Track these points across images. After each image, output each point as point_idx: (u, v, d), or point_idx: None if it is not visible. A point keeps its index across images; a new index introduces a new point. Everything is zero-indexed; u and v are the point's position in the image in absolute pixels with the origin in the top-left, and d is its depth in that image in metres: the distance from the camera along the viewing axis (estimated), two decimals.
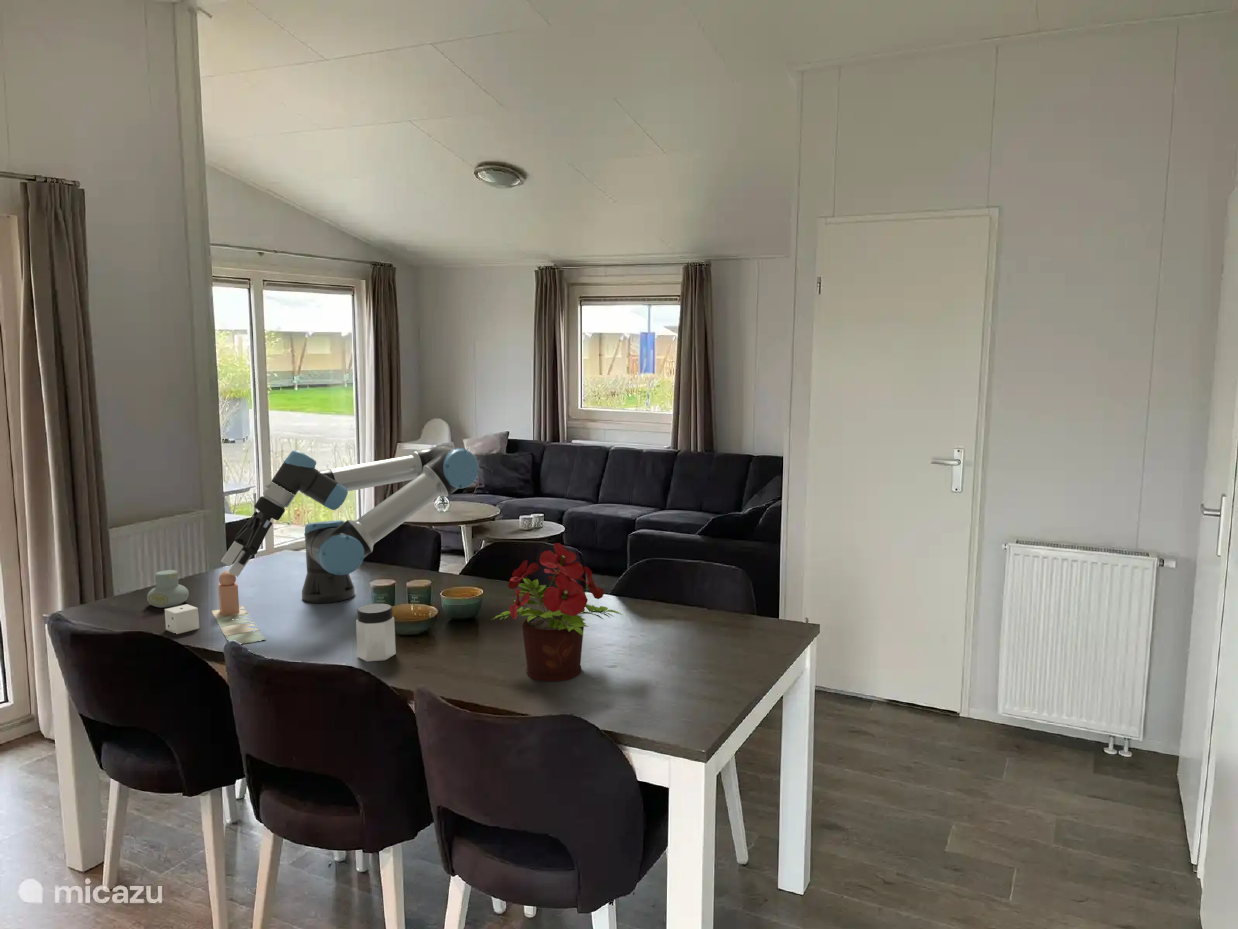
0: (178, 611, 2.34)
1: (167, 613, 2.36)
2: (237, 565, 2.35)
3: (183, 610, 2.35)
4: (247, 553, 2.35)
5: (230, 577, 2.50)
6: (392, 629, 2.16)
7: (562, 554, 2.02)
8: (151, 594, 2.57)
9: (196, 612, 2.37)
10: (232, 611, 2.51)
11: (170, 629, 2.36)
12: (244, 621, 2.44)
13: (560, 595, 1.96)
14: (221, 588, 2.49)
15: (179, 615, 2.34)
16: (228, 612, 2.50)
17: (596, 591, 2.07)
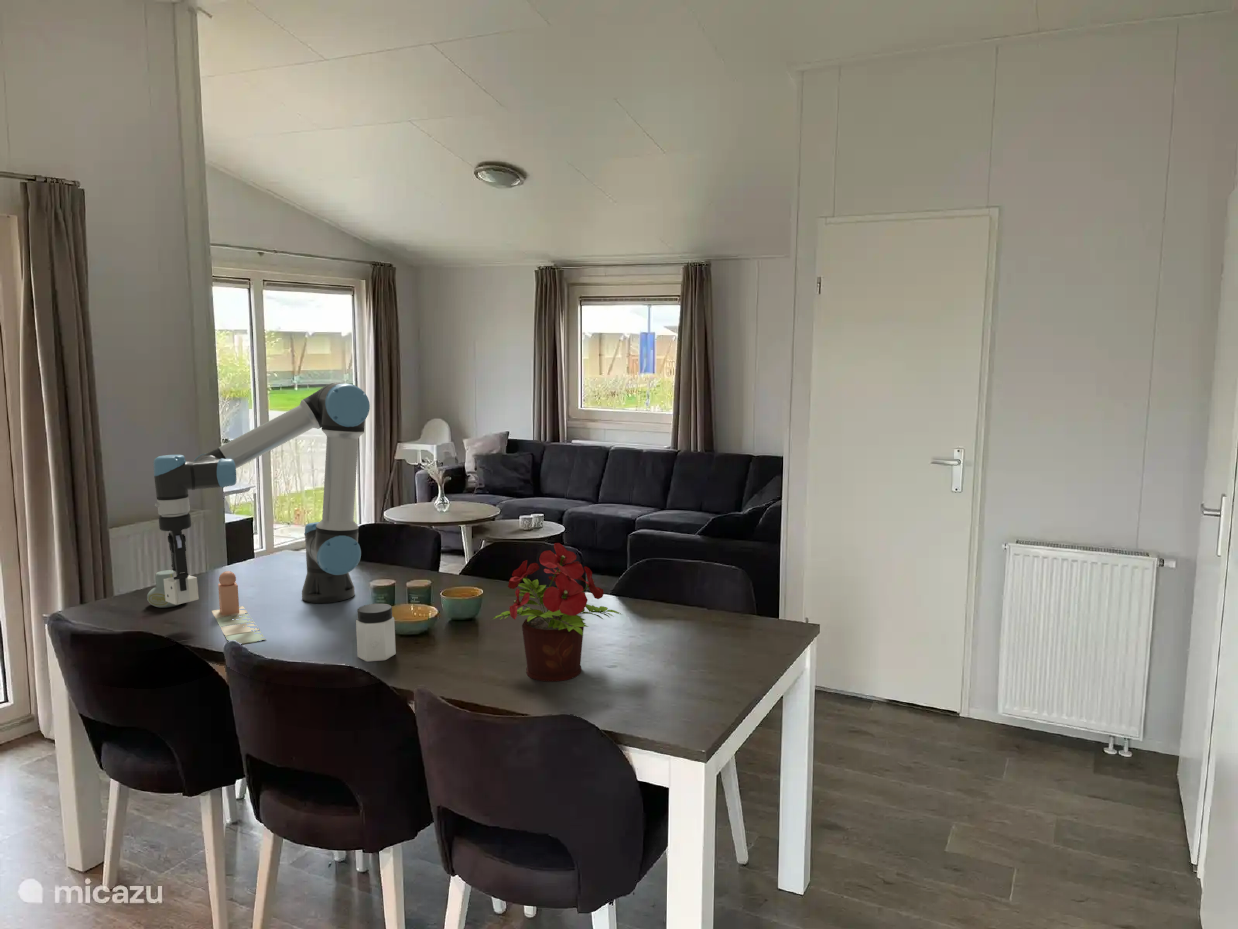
0: None
1: (166, 583, 2.35)
2: (181, 593, 2.32)
3: None
4: (181, 579, 2.31)
5: (230, 577, 2.50)
6: (392, 629, 2.16)
7: (562, 554, 2.02)
8: (151, 594, 2.57)
9: (195, 581, 2.36)
10: (232, 611, 2.51)
11: (169, 599, 2.35)
12: (244, 621, 2.44)
13: (560, 595, 1.96)
14: (221, 588, 2.49)
15: None
16: (228, 612, 2.50)
17: (596, 591, 2.07)
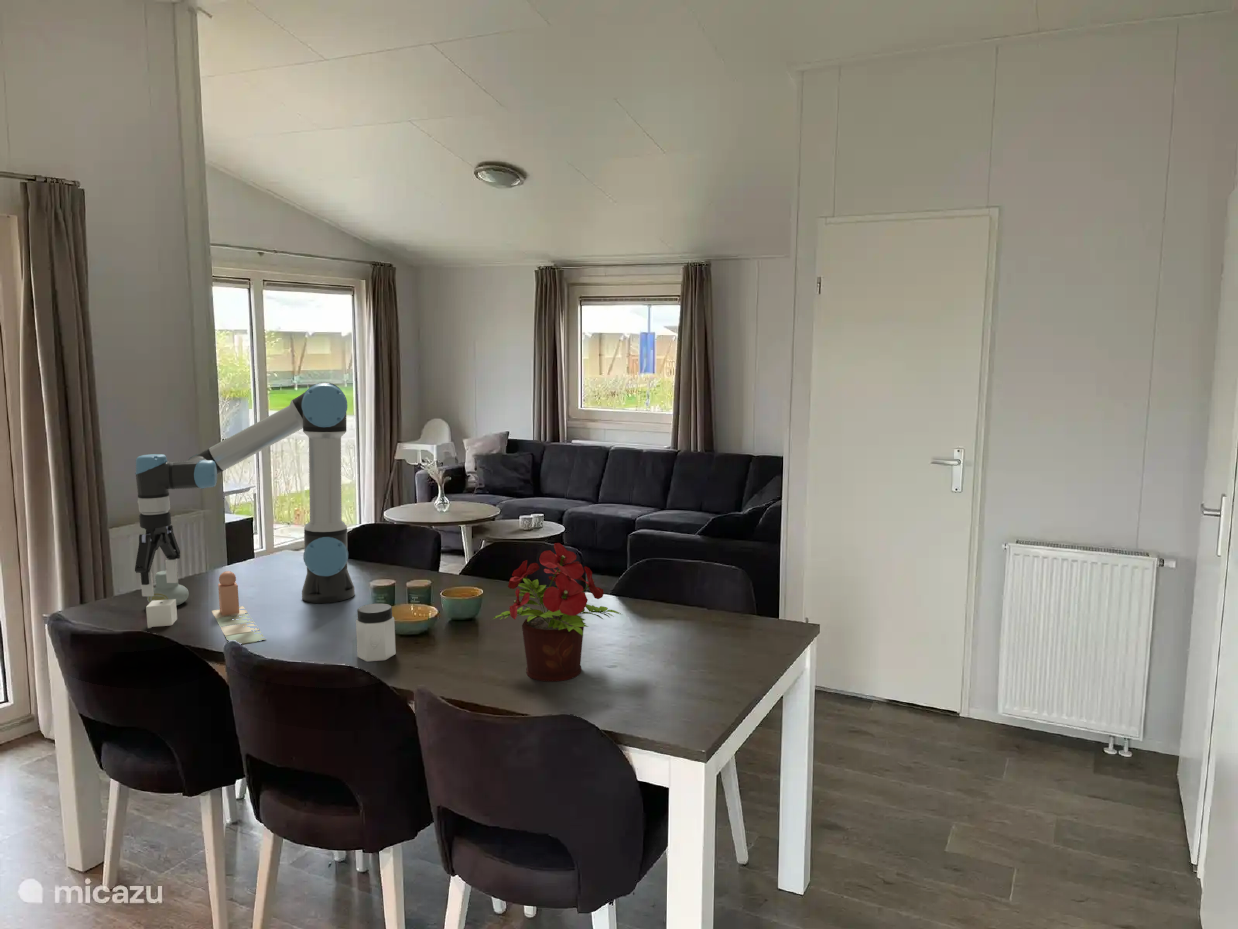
0: (152, 605, 2.40)
1: None
2: (145, 586, 2.34)
3: (157, 605, 2.40)
4: (141, 573, 2.33)
5: (230, 577, 2.50)
6: (392, 629, 2.16)
7: (562, 554, 2.02)
8: None
9: (168, 609, 2.40)
10: (232, 611, 2.51)
11: None
12: (244, 621, 2.44)
13: (560, 595, 1.96)
14: (221, 588, 2.49)
15: (150, 609, 2.39)
16: (228, 612, 2.50)
17: (596, 591, 2.07)
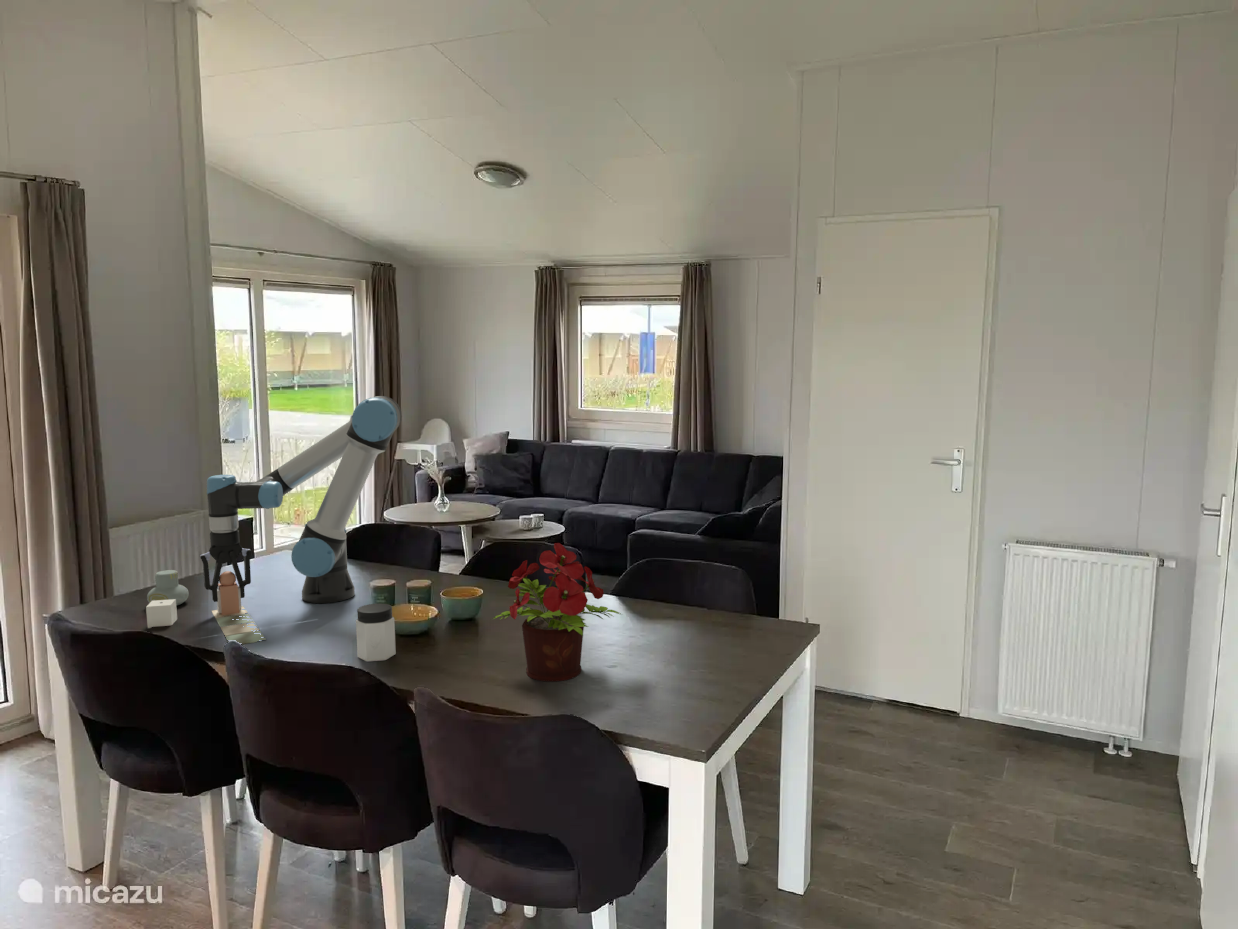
0: (152, 605, 2.40)
1: None
2: (217, 603, 2.51)
3: (157, 605, 2.40)
4: None
5: (230, 577, 2.50)
6: (392, 629, 2.16)
7: (562, 554, 2.02)
8: (151, 594, 2.57)
9: (168, 609, 2.40)
10: (232, 611, 2.51)
11: None
12: (244, 621, 2.44)
13: (560, 595, 1.96)
14: (221, 588, 2.49)
15: (150, 609, 2.39)
16: (228, 612, 2.50)
17: (596, 591, 2.07)
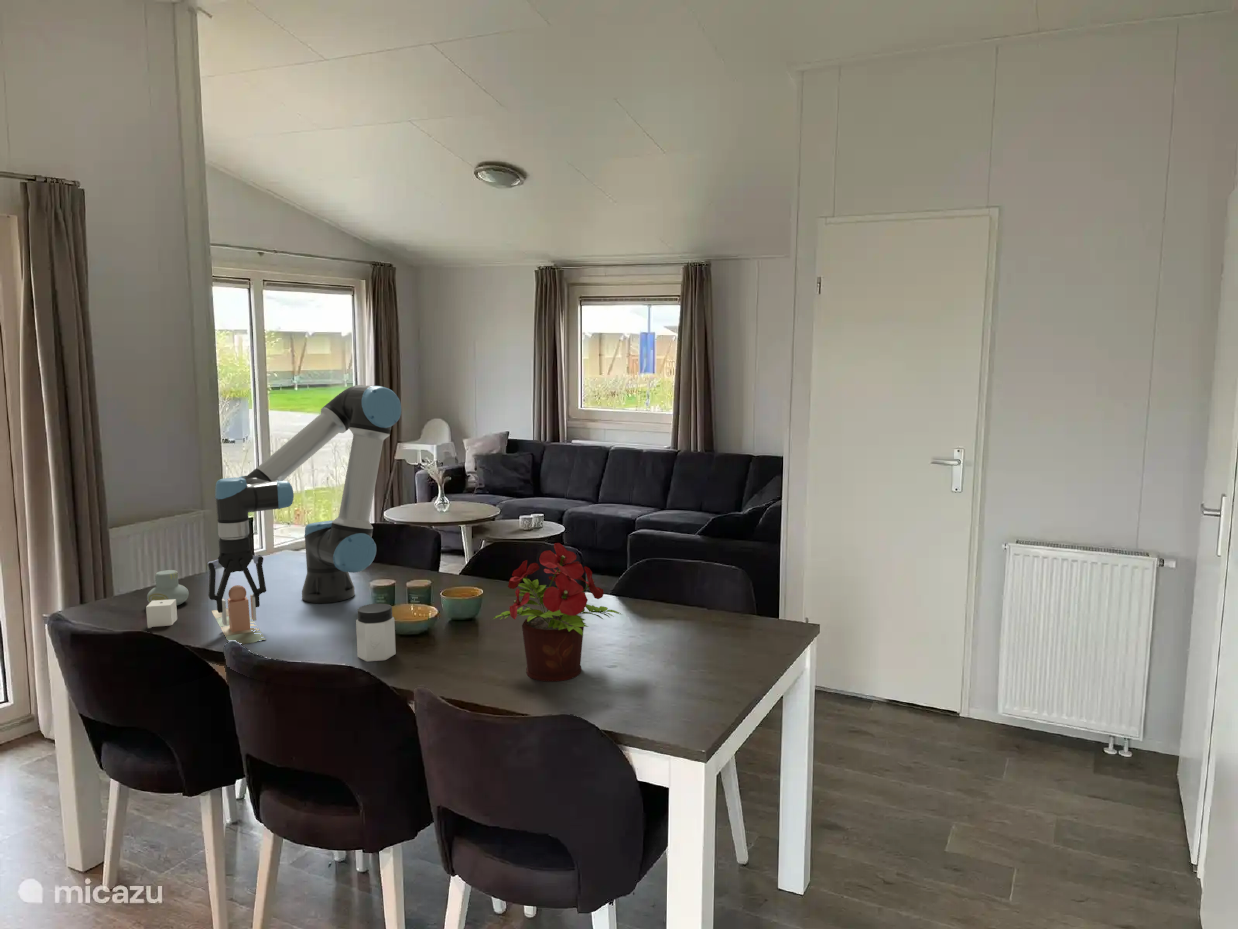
0: (152, 605, 2.40)
1: None
2: (222, 614, 2.35)
3: (157, 605, 2.40)
4: (216, 600, 2.34)
5: (240, 592, 2.35)
6: (392, 629, 2.16)
7: (562, 554, 2.02)
8: (151, 594, 2.57)
9: (168, 609, 2.40)
10: (243, 627, 2.36)
11: None
12: None
13: (560, 595, 1.96)
14: (231, 603, 2.34)
15: (150, 609, 2.39)
16: (239, 628, 2.35)
17: (596, 591, 2.07)
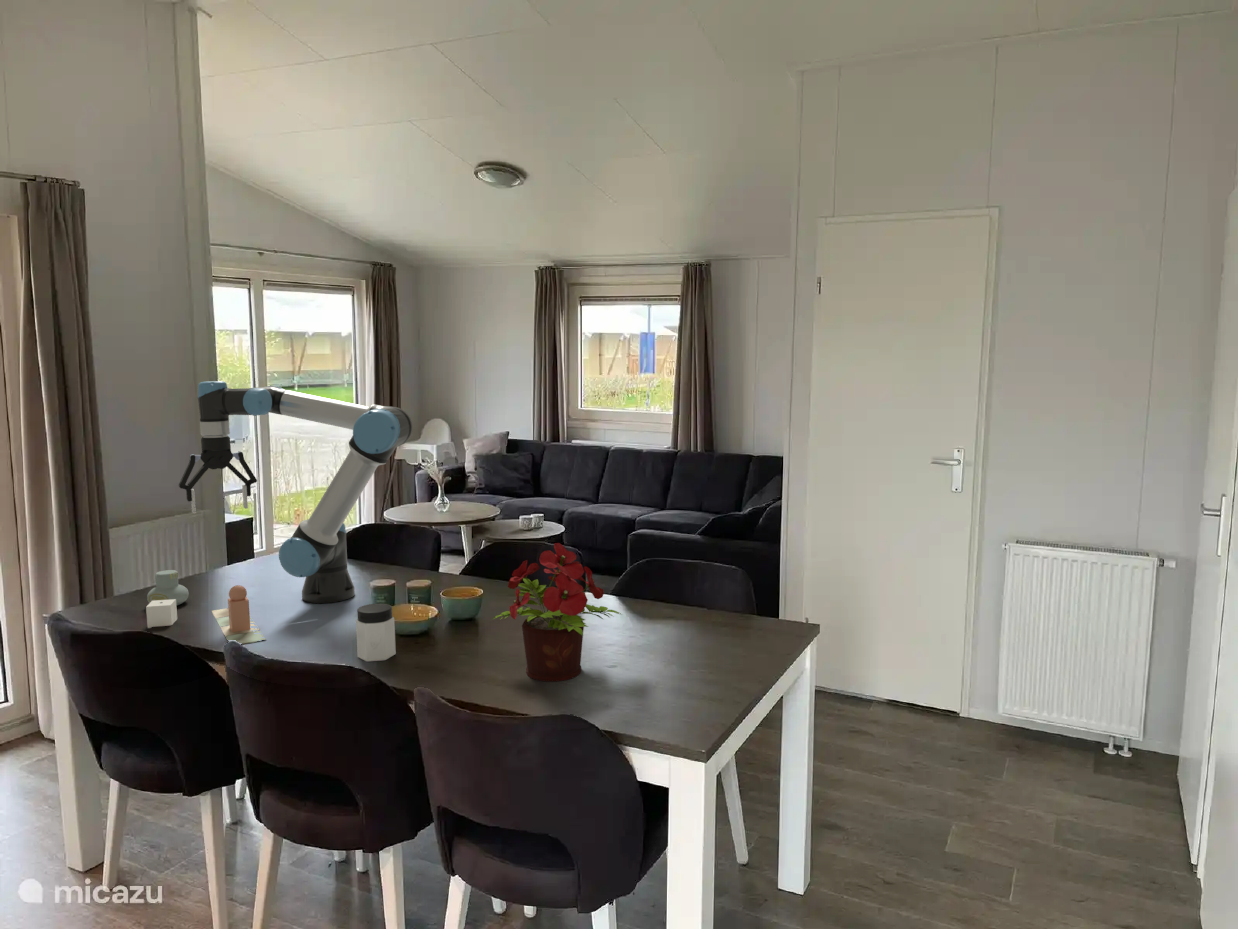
0: (152, 605, 2.40)
1: None
2: (191, 503, 2.50)
3: (157, 605, 2.40)
4: (185, 489, 2.49)
5: (240, 592, 2.35)
6: (392, 629, 2.16)
7: (562, 554, 2.02)
8: (151, 594, 2.57)
9: (168, 609, 2.40)
10: (243, 627, 2.36)
11: None
12: None
13: (560, 595, 1.96)
14: (231, 603, 2.34)
15: (150, 609, 2.39)
16: (239, 628, 2.35)
17: (596, 591, 2.07)
